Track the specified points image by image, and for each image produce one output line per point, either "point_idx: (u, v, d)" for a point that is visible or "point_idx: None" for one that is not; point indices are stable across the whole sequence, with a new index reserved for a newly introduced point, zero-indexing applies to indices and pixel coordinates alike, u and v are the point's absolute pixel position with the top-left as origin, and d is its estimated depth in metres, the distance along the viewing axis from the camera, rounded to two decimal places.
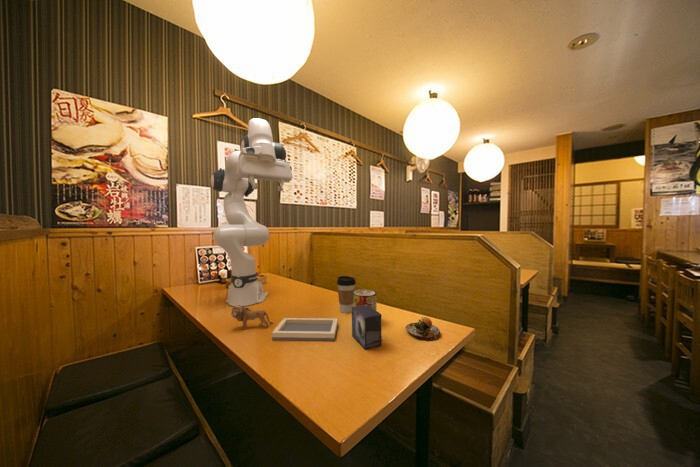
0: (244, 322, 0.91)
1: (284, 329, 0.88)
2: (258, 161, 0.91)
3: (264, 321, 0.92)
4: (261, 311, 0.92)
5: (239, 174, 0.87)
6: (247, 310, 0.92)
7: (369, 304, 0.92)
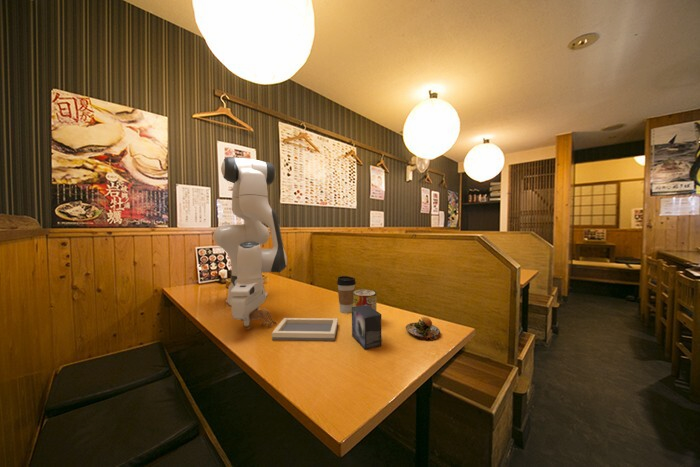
0: None
1: (284, 329, 0.88)
2: (251, 297, 0.89)
3: (267, 321, 0.92)
4: (264, 311, 0.92)
5: (238, 318, 0.82)
6: None
7: (369, 304, 0.92)
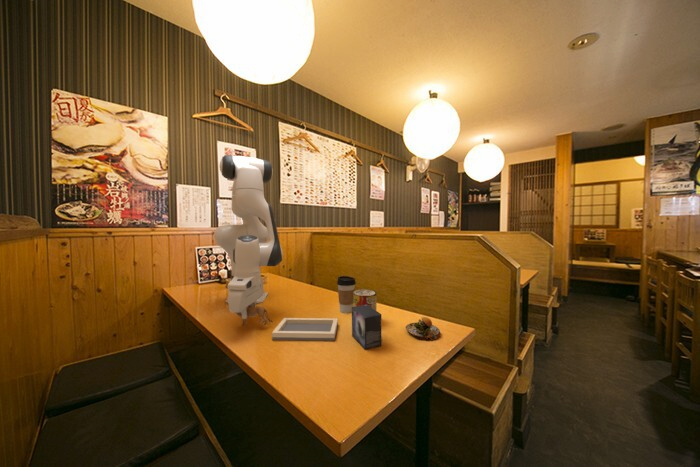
0: None
1: (284, 329, 0.88)
2: (249, 290, 0.89)
3: (263, 318, 0.91)
4: (261, 307, 0.92)
5: (234, 312, 0.82)
6: (248, 306, 0.92)
7: (369, 304, 0.92)
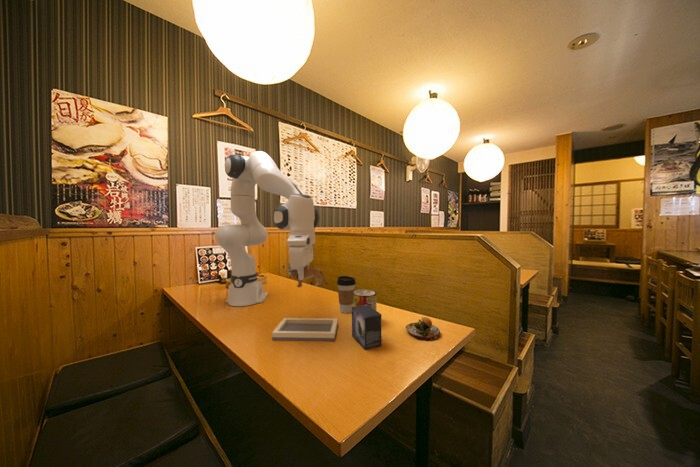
0: None
1: (284, 329, 0.88)
2: (305, 249, 0.84)
3: (320, 279, 0.86)
4: (317, 268, 0.87)
5: (296, 268, 0.78)
6: None
7: (369, 304, 0.92)
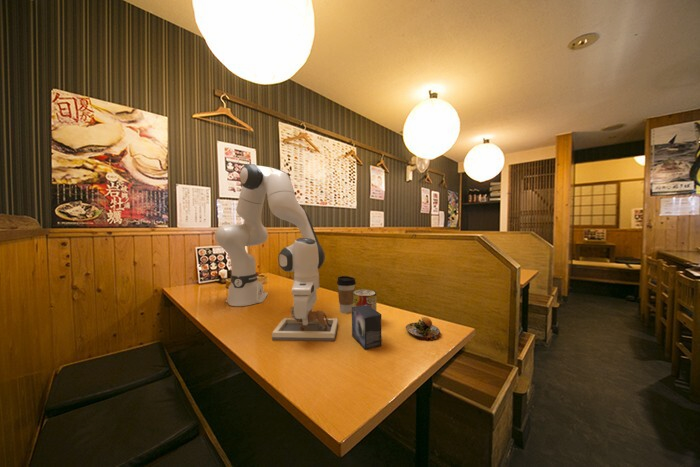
0: None
1: (284, 329, 0.88)
2: None
3: (323, 323, 0.87)
4: (320, 312, 0.87)
5: (300, 318, 0.78)
6: None
7: (369, 304, 0.92)
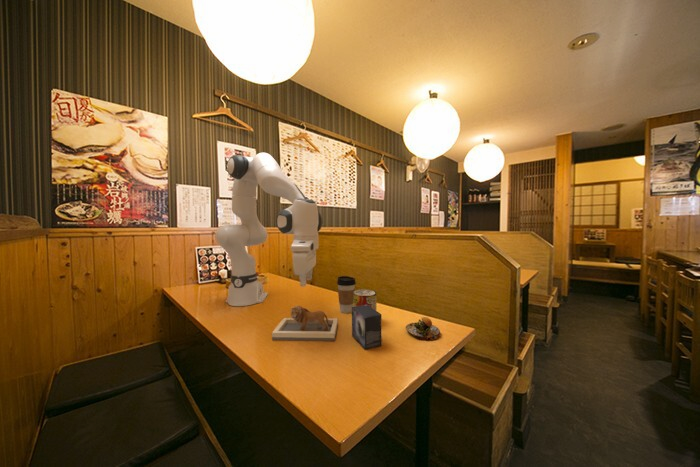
0: (304, 324, 0.86)
1: (284, 329, 0.88)
2: (309, 255, 0.84)
3: (324, 324, 0.86)
4: (321, 313, 0.87)
5: (299, 274, 0.78)
6: (306, 311, 0.87)
7: (369, 304, 0.92)
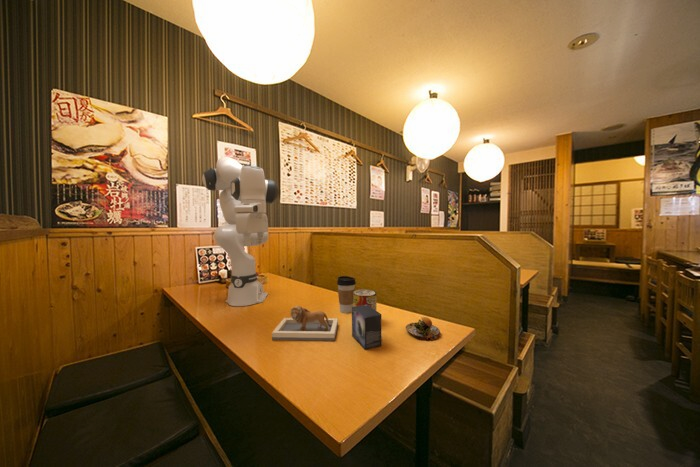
0: (304, 324, 0.86)
1: (284, 329, 0.88)
2: (255, 217, 0.90)
3: (324, 324, 0.86)
4: (321, 313, 0.87)
5: (241, 232, 0.83)
6: (306, 311, 0.87)
7: (369, 304, 0.92)
